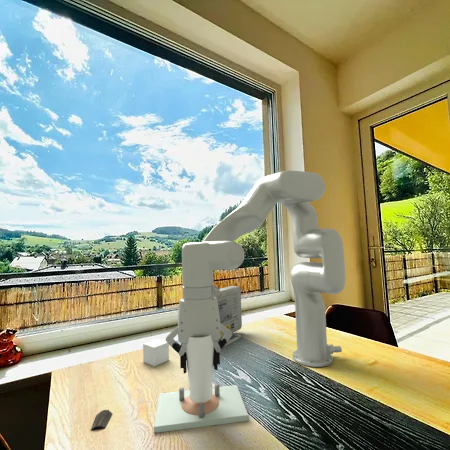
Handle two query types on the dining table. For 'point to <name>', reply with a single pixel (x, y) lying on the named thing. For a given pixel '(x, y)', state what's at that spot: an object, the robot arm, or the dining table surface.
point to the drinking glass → (200, 368)
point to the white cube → (155, 352)
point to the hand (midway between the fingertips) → (200, 368)
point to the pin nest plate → (199, 409)
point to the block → (101, 420)
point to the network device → (230, 310)
